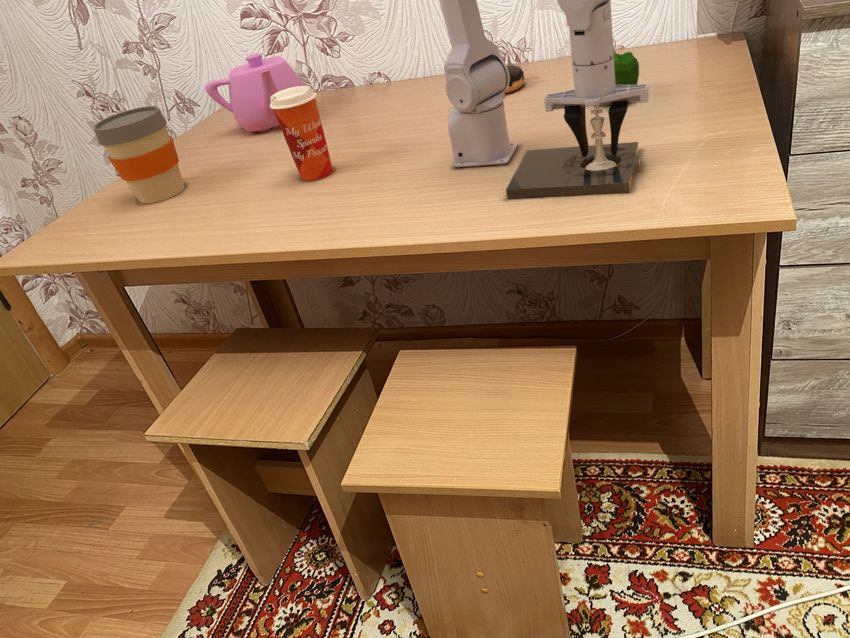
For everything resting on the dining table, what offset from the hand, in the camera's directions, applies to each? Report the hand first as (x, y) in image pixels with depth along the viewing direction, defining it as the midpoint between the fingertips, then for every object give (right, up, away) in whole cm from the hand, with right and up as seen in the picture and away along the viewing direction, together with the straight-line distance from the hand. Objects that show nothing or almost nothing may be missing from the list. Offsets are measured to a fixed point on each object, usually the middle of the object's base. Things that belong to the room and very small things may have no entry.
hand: (599, 153), depth 104 cm
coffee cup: (-48, +3, +24) cm, 54 cm away
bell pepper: (+8, +17, +26) cm, 32 cm away
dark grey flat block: (-3, -3, +3) cm, 5 cm away
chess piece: (+1, -2, +2) cm, 3 cm away
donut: (-13, +27, +46) cm, 55 cm away
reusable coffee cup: (-80, +1, +32) cm, 86 cm away
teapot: (-64, +23, +58) cm, 89 cm away
